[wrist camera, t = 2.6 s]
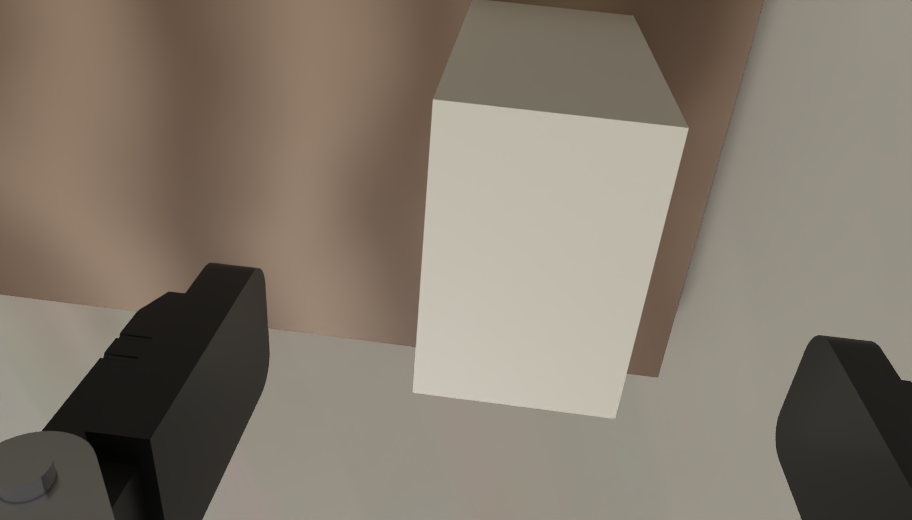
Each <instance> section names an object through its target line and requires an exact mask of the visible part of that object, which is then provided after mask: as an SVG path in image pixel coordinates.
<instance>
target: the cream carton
mask: <svg viewBox="0 0 912 520" xmlns="http://www.w3.org/2000/svg"><path fill="white" fill-rule="evenodd" d="M688 129H689V127H688V125H687V123H686V121H685V119H684V117H683V115H682V113H681V111H680V109H679V107H678V105H677V103H676V101H675V99H674V97H673V95H672V93H671V91H670V89H669V87H668V85H667V83H666V81H665V79H664V77H663V75H662V72H661V70H660V68H659V66H658V64H657V62H656V60H655V58H654V56H653V54H652V52H651V50H650V48H649V46H648V44H647V42H646V40H645V38H644V36H643V34H642V32H641V30H640V28H639V26H638V24H637V22H636V20H635V18H634V16H633V15H623V14H614V13H604V12H595V11H586V10H576V9H567V8H557V7H548V6H538V5H529V4H519V3H510V2H501V1H491V0H472V2H471V4H470V7H469V9H468V12H467V14H466V17H465V19H464V22H463V25H462V27H461V30H460V32H459V35H458V37H457V40H456V42H455V45H454V47H453V50H452V52H451V55H450V57H449V60H448V62H447V65H446V67H445V70H444V73H443V75H442V78H441V80H440V83H439V85H438V88H437V90H436V93H435V95H434V98H433V105H432V120H431V134H430V149H429V163H428V178H427V193H426V207H425V222H424V236H423V251H422V266H421V280H420V295H419V309H418V324H417V338H416V353H415V368H414V382H413V393H420V394H427V395H435V396H443V397H451V398H458V399H466V400H474V401H482V402H489V403H497V404H505V405H513V406H520V407H528V408H536V409H544V410H551V411H559V412H567V413H575V414H582V415H590V416H598V417H606V418H613V419H615V417H616V413H617V409H618V405H619V402H620V398H621V394H622V390H623V386H624V382H625V378H626V374H627V370H628V366H629V362H630V358H631V354H632V350H633V346H634V342H635V338H636V334H637V330H638V327H639V323H640V319H641V315H642V311H643V307H644V303H645V299H646V295H647V291H648V287H649V283H650V279H651V275H652V271H653V267H654V263H655V259H656V255H657V252H658V248H659V244H660V240H661V236H662V232H663V228H664V224H665V220H666V216H667V212H668V208H669V204H670V200H671V196H672V192H673V188H674V184H675V180H676V177H677V173H678V169H679V165H680V161H681V157H682V153H683V149H684V145H685V141H686V137H687V133H688Z"/></svg>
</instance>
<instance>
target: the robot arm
mask: <svg viewBox="0 0 912 520" xmlns="http://www.w3.org/2000/svg"><path fill="white" fill-rule="evenodd" d="M269 354H270V353H269V334H268V318H267V301H266V285H265V277H264V273H263V271H262V270H261V269H260V268H254V267H246V266H237V265H229V264H220V263H212V262H211V263H208V264H207V265H206V266H205V267H204V268H203V270H202V271H201V272H200V274H199V275H198V276H197V278H196V279H195V281H194V282H193V283H192V285H191V286H190V287H189V289H188V290H187V291H186V293H178V292H170V291H169V292H167V293H165V294H164V295H162V296H161V297H159V298H157V299H156V300H154V301H152V302H151V303H149V304H148V305H146V306H144V307H143V308H141V309H139V310H138V311H137V313H136V314H135V315H134V316H133V318H132V319H131V320H130V321H129V323H128V324H127V325H126V326H125V328H124V329H123V330H122V331H121V333H120V337H119V338H116V339H115V340H114V341H113V343H112V344H111V345H110V346H109V348H108V349H107V350H106V351H105V353H104V358H100V359H99V360H98V361H97V363H96V364H95V365H94V366H93V368H92V369H91V370H90V371H89V373H88V374H87V375H86V376H85V378H84V379H83V380H82V381H81V383H80V384H79V385H78V386H77V388H76V389H75V390H74V391H73V393H72V394H71V395H70V396H69V398H68V399H67V400H66V401H65V403H64V404H63V405H62V406H61V408H60V409H59V410H58V411H57V413H56V414H55V415H54V416H53V418H52V419H51V420H50V421H49V423H48V424H47V425H46V426H45V428H44V429H43V430H42V431H40V432H33V433H28V434H24V435H19V436H16V437H13V438H10V439H7V440H5V441H3V442H1V443H0V520H202V519H203V517H204V515H205V513H206V510H207V508H208V506H209V504H210V502H211V500H212V498H213V496H214V494H215V491H216V489H217V487H218V485H219V483H220V481H221V479H222V477H223V474H224V472H225V470H226V468H227V466H228V464H229V462H230V460H231V457H232V455H233V453H234V451H235V449H236V447H237V445H238V443H239V440H240V438H241V436H242V434H243V432H244V430H245V428H246V426H247V423H248V421H249V419H250V417H251V415H252V413H253V411H254V409H255V407H256V404H257V402H258V400H259V398H260V396H261V394H262V391H263V389H264V386H265V382H266V378H267V373H268V367H269ZM776 449H777V454H778V458H779V461H780V464H781V466H782V469H783V471H784V474H785V477H786V479H787V482H788V485H789V487H790V490H791V492H792V495H793V498H794V500H795V503H796V505H797V508H798V511H799V513H800V516H801V519H802V520H912V382H911V381H905V380H901V379H900V377H899V376H898V374H897V373H896V371H895V370H894V368H893V366H892V365H891V363H890V362H889V360H888V359H887V357H886V356H885V354H884V353H883V351H882V350H881V348H880V347H879V346H878V345H877V344H876V343H874V342H872V341H864V340H856V339H847V338H839V337H830V336H822V335H818V336H815V337H814V338H813V339H812V340H811V341H810V342H809V344H808V345H807V347H806V350H805V352H804V355H803V357H802V359H801V362H800V364H799V367H798V369H797V372H796V374H795V377H794V379H793V382H792V384H791V386H790V389H789V391H788V394H787V396H786V399H785V401H784V404H783V406H782V409H781V411H780V414H779V417H778V421H777V426H776Z"/></svg>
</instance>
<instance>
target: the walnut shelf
mask: <svg viewBox="0 0 912 520" xmlns="http://www.w3.org/2000/svg"><path fill="white" fill-rule="evenodd" d="M491 1H501V2H510V3H519V4H529V5H538V6H548V7H557V8H567V9H576V10H586V11H595V12H604V13H614V14H623V15H633V16H634V18H635V20H636V22H637V24H638V26H639V28H640V30H641V32H642V34H643V36H644V38H645V40H646V42H647V44H648V46H649V48H650V50H651V52H652V54H653V56H654V58H655V60H656V62H657V64H658V66H659V68H660V70H661V72H662V75H663V77H664V79H665V81H666V83H667V85H668V87H669V89H670V91H671V93H672V95H673V97H674V99H675V101H676V103H677V105H678V107H679V109H680V111H681V113H682V115H683V117H684V119H685V121H686V123H687V125H688V127H689V129H688V133H687V137H686V141H685V145H684V149H683V153H682V157H681V161H680V165H679V169H678V173H677V177H676V180H675V184H674V188H673V192H672V196H671V200H670V204H669V208H668V212H667V216H666V220H665V224H664V228H663V232H662V236H661V240H660V244H659V248H658V252H657V255H656V259H655V263H654V267H653V271H652V275H651V279H650V283H649V287H648V291H647V295H646V299H645V303H644V307H643V311H642V315H641V319H640V323H639V327H638V330H637V334H636V338H635V342H634V346H633V350H632V354H631V358H630V362H629V366H628V370H627V374H634V375H642V376H650V377H658V375H659V372H660V368H661V364H662V361H663V357H664V354H665V350H666V347H667V343H668V340H669V336H670V332H671V329H672V325H673V322H674V318H675V315H676V311H677V308H678V304H679V300H680V297H681V293H682V290H683V286H684V283H685V279H686V276H687V272H688V268H689V265H690V261H691V258H692V254H693V251H694V247H695V244H696V240H697V237H698V233H699V229H700V226H701V222H702V219H703V215H704V212H705V208H706V205H707V201H708V197H709V194H710V190H711V187H712V183H713V180H714V176H715V173H716V169H717V165H718V162H719V158H720V155H721V151H722V148H723V144H724V141H725V137H726V134H727V130H728V126H729V123H730V119H731V116H732V112H733V109H734V105H735V102H736V98H737V94H738V91H739V87H740V84H741V80H742V77H743V73H744V70H745V66H746V62H747V59H748V55H749V52H750V48H751V45H752V41H753V38H754V34H755V30H756V27H757V23H758V20H759V16H760V13H761V9H762V6H763V2H764V0H491ZM471 2H472V0H0V294H2V295H10V296H17V297H25V298H33V299H41V300H49V301H57V302H65V303H73V304H81V305H89V306H97V307H104V308H112V309H120V310H128V311H136V312H137V311H138V310H139V309H141V308H143V307H144V306H146V305H148V304H149V303H151V302H152V301H154V300H156V299H157V298H159V297H161V296H162V295H164V294H165V293H167V292H169V291H170V292H178V293H186V291H187V290H188V289H189V287H190V286H191V285H192V283H193V282H194V281H195V279H196V278H197V276H198V275H199V274H200V272H201V271H202V270H203V268H204V267H205V266H206V265H207V264H208V263H211V262H212V263H220V264H229V265H237V266H246V267H254V268H260V269H261V270H262V271H263V273H264V277H265V285H266V301H267V318H268V328H271V329H278V330H286V331H294V332H302V333H310V334H318V335H326V336H334V337H342V338H350V339H358V340H365V341H373V342H381V343H389V344H397V345H405V346H413V347H416V338H417V324H418V309H419V295H420V280H421V266H422V251H423V236H424V222H425V207H426V193H427V178H428V163H429V149H430V134H431V120H432V105H433V98H434V95H435V93H436V90H437V88H438V85H439V83H440V80H441V78H442V75H443V73H444V70H445V67H446V65H447V62H448V60H449V57H450V55H451V52H452V50H453V47H454V45H455V42H456V40H457V37H458V35H459V32H460V30H461V27H462V25H463V22H464V19H465V17H466V14H467V12H468V9H469V7H470V4H471Z"/></svg>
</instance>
